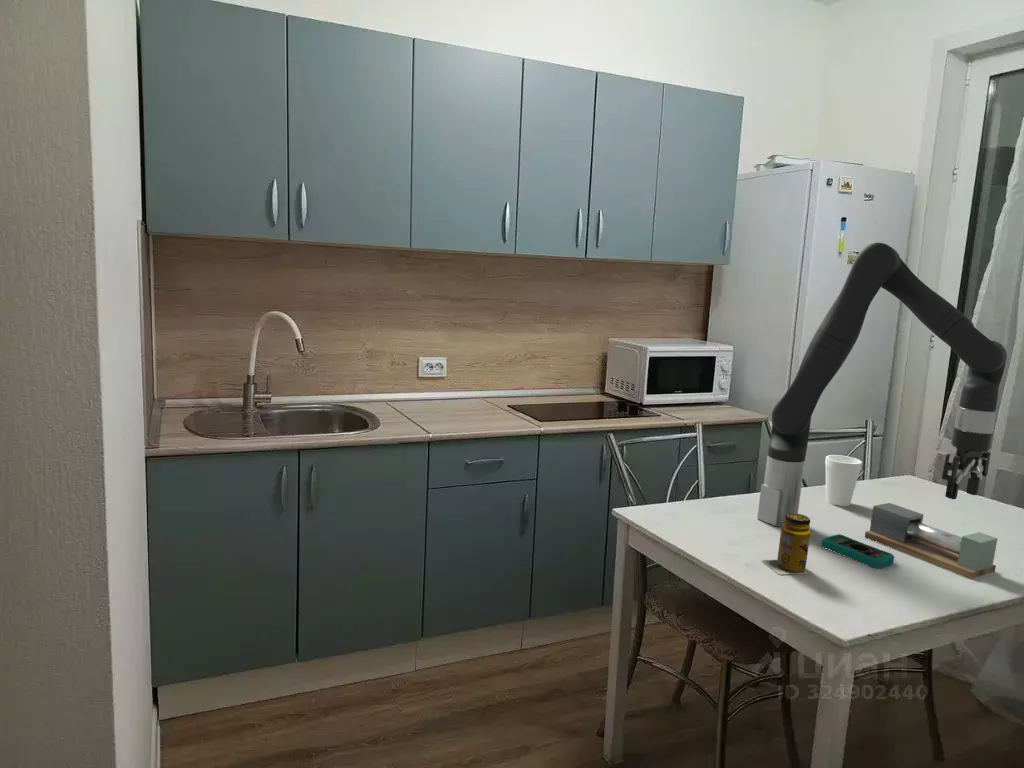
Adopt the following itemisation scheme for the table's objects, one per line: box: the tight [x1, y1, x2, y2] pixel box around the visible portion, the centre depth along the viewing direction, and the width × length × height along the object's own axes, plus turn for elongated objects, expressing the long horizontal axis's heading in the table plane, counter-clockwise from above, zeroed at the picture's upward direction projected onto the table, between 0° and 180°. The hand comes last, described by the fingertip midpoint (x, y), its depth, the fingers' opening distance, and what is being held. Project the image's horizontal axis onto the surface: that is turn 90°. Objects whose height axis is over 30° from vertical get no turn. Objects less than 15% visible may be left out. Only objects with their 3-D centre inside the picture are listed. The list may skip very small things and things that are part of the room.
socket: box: [957, 531, 998, 572], centre depth 166 cm, size 7×4×7 cm, turn 120°
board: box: [864, 530, 996, 580], centre depth 176 cm, size 10×26×2 cm, turn 30°
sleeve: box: [869, 502, 924, 544], centre depth 182 cm, size 7×9×7 cm
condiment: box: [761, 513, 814, 576], centre depth 162 cm, size 7×8×12 cm
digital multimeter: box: [821, 533, 895, 570], centre depth 172 cm, size 7×15×3 cm, turn 33°
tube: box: [907, 520, 962, 554], centre depth 173 cm, size 4×19×4 cm, turn 30°
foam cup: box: [824, 454, 863, 507], centre depth 210 cm, size 10×9×13 cm
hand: (961, 496), depth 168 cm, fingers open, 8 cm apart
